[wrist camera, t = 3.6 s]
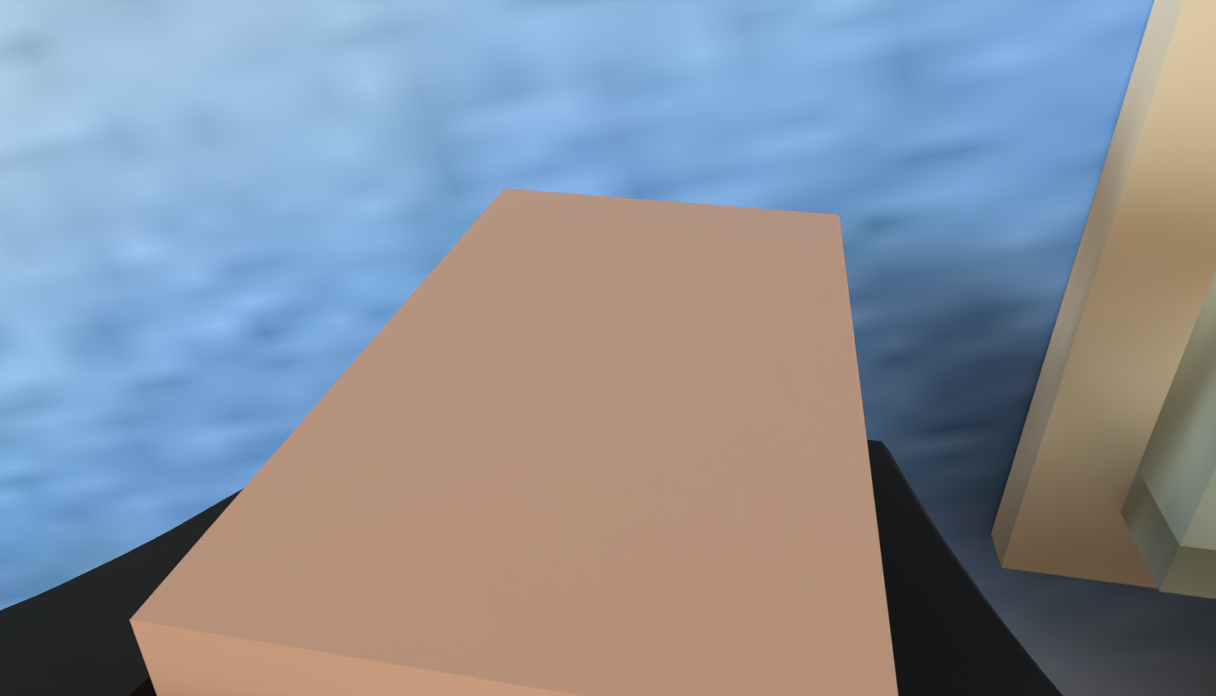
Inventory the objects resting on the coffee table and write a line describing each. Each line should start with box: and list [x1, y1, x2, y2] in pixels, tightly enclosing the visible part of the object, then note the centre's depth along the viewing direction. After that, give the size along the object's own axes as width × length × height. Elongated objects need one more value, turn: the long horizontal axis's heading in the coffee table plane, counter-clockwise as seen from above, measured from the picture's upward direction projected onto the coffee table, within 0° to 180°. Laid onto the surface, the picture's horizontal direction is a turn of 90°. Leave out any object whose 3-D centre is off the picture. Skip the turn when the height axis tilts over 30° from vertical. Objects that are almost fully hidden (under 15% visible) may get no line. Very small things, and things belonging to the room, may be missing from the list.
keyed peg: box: [130, 189, 898, 696], centre depth 9 cm, size 5×4×7 cm
